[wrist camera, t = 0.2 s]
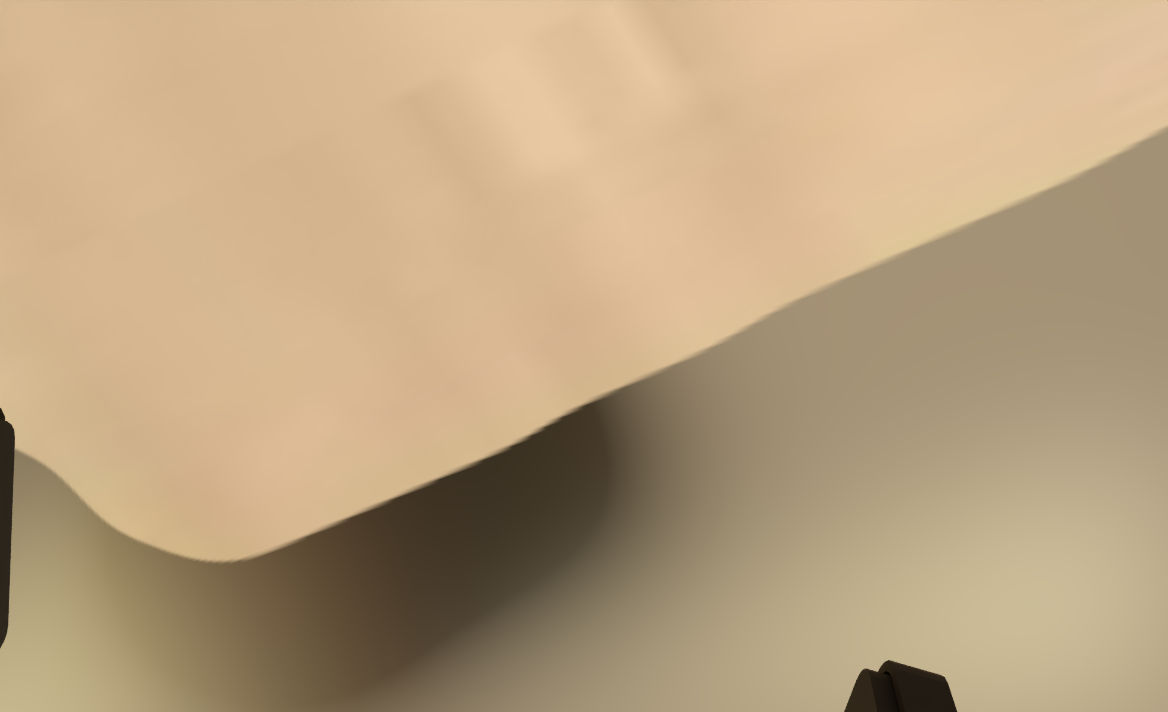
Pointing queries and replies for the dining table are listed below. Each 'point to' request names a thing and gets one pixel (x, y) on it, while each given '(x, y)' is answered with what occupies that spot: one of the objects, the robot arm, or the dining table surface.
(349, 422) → the dining table surface
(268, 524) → the dining table surface
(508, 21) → the dining table surface
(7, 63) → the dining table surface
